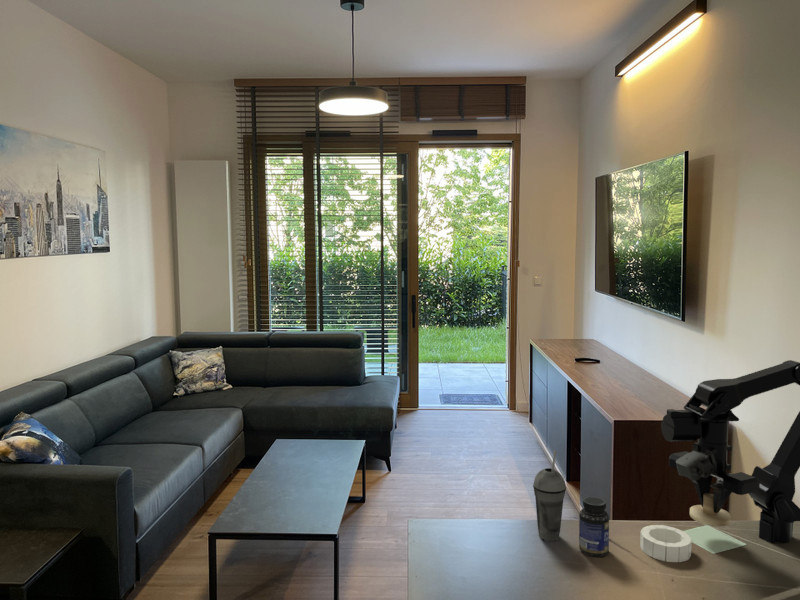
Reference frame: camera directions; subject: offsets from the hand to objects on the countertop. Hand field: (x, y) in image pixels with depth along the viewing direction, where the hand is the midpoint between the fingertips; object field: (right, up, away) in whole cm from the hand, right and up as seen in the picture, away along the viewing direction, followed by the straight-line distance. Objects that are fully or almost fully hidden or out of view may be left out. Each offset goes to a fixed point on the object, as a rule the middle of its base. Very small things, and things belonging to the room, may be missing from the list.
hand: (710, 509), depth 130 cm
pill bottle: (-26, -8, -3) cm, 28 cm away
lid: (0, -2, 0) cm, 2 cm away
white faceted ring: (-12, -8, -4) cm, 15 cm away
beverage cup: (-34, -8, +4) cm, 36 cm away
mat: (0, -7, +1) cm, 7 cm away
